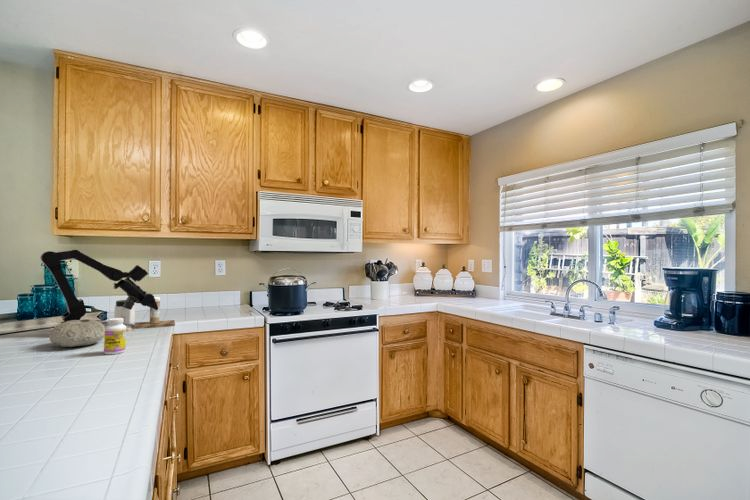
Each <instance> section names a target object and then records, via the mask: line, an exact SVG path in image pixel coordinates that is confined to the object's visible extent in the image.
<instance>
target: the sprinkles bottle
mask: <svg viewBox="0 0 750 500" xmlns="http://www.w3.org/2000/svg"><path fill="white" fill-rule="evenodd" d="M154 299H155V301H156V304H157V306H158V310H155V309H153V308H151V307H149V321H148V322H149V323H150V324H156V323H159V321H160V315H161V313H160V310H161V307H160V306H161V305H160V303H161V297H159V296H154Z"/></svg>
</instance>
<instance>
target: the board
mask: <svg viewBox="0 0 750 500" xmlns="http://www.w3.org/2000/svg"><path fill="white" fill-rule="evenodd" d="M149 322H150V321H141V322H140V321H139V322H138V321H137V322H134V323H133V327H132V329H133V330H136V329H152V328H163V327H175V326H176V322H175V320H173V319H172V320H170V319H169V320H159V323H156V324H150V323H149Z"/></svg>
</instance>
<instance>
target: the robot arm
mask: <svg viewBox="0 0 750 500" xmlns="http://www.w3.org/2000/svg"><path fill="white" fill-rule="evenodd" d="M39 257H40V260H41V262H42V264H44V266H45V267H46V268H47V269H48V271H50V273H51V276H53V279H54V281H55V283H56V284H57V287H58V289H59V290H60V292H61V294H62V296H63V298H64V301H65V306H66V310H67V311H66V312H65V313H64V314H63V315H62V316H61V318H62V319H61V320H62V321H61V322H60V324H61V323H63V322H67V321H71V320H82V319H81V318H83V317H84V316H85V315H86V313H87V309H88V307H87V306H86V305H85V303H84V300H83V299H82V298H79V299H78V297H76V295H75V293H74V291H73V288H72V286H71V284H70V283H69V281H68V279H67V277H66V274H65V273H64V271H63V266H62V263H61V261H66V260H70V259H71V260H72V259H74V260H76V261H78V262H80V263H81V264H84V265H86V266H87V267H90V268H92V269H93V270H95V271H97V272H99V273H100V274H101V275H103V276H104V277H105V278H106V279H108V280H110V281H113V282H114V283H113V289H115V290H117V289H118V288H120V289H121V290H122V291H123V292H124V293H125V294H126V295H127V298H126V299H125V300H126V301H125V303H124V304H123V307H124V308H127V309H130V310H131V309H132V308H133V305H135V304H140V305H141V306H143V307H148V308H150V307H151V308H153V309H155V310H158V306H157V304H156V301H155V299H154V297H155V295H153V294H152V293H149V292H148V293H147V291H145V290H143V289H142V288H141V286H139V285H138V284H136V282H141V281H142V280H143V279H144V278H145V277H146V276H148V275H149V272H148V271H147V270H146V269H144V268H143V267H141V266H140V265H137V264H136V265H135V266H134V267H133V268H132V269H130V270H129V271H122V270H120V269H118V268H115V267H112V266H109V265H106V264H104V263H102V262H100V261H98V260H96V259H94V258H92V257H91V256H88V255H87V254H84V253H82V252H81V251H80V250H78V249H70V250H64V251H57V252H55V251H51V250H49V251H44V252H43V253H42V254H41V255H40V256H39ZM115 282H116V283H115Z"/></svg>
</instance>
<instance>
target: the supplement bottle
mask: <svg viewBox="0 0 750 500" xmlns="http://www.w3.org/2000/svg"><path fill="white" fill-rule="evenodd" d="M107 322H108V325H107V326H105V335H104V337H103V338H104V339H103V340H104V342H103V354H105V355H108V356H109V355H111V354H112V355H118V354H119V353H120V354H122V353H125V352H126V345H127V344H126V342H127V341H126V340H127V339H126V338H127V331H126V328H127V325H126V324H123V318H109V319H108V321H107Z"/></svg>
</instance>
